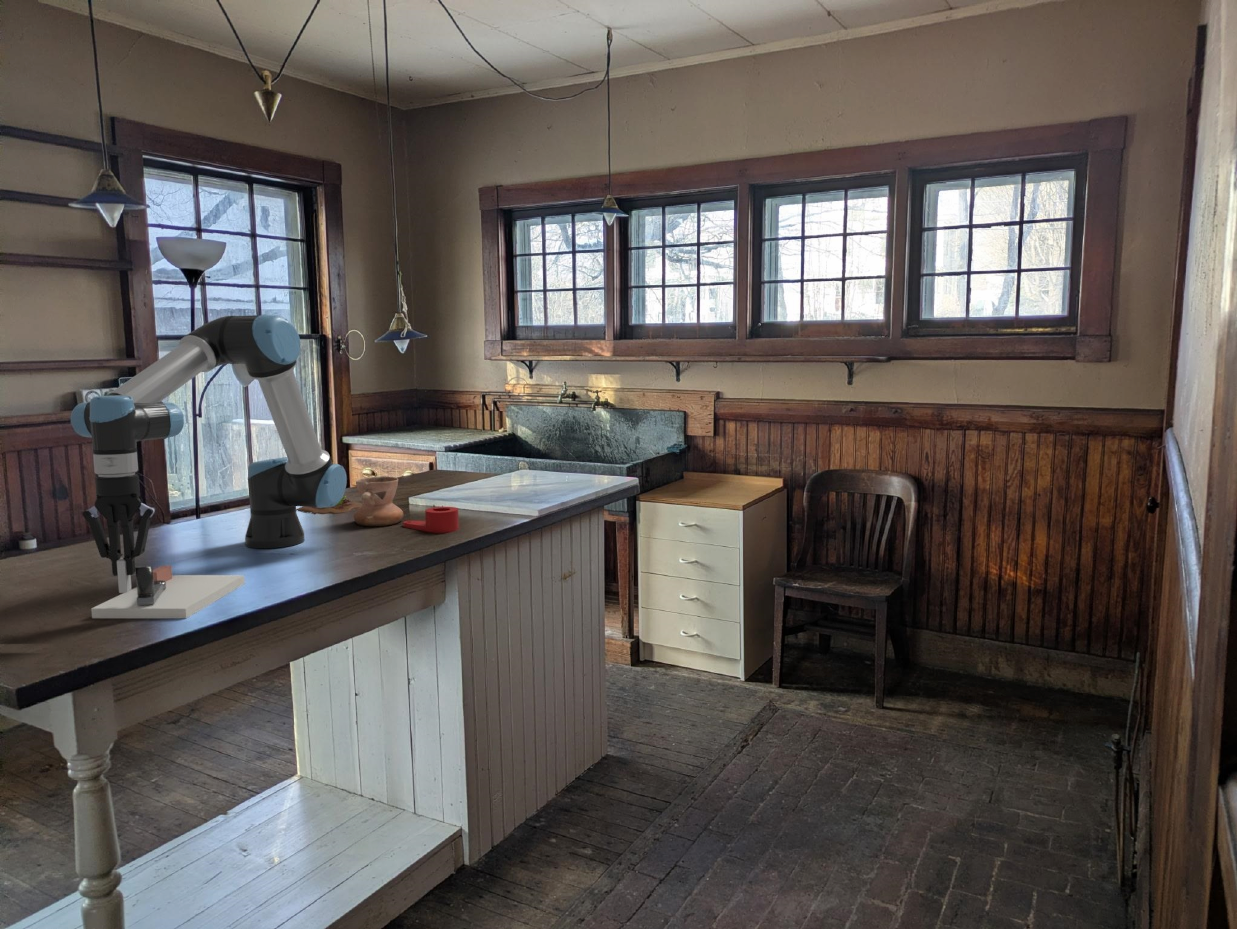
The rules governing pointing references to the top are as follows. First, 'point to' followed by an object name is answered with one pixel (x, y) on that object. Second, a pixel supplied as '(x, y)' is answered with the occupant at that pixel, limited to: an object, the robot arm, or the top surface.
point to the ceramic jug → (377, 501)
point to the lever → (437, 520)
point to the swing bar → (147, 585)
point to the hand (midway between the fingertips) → (125, 590)
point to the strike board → (171, 596)
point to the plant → (337, 509)
